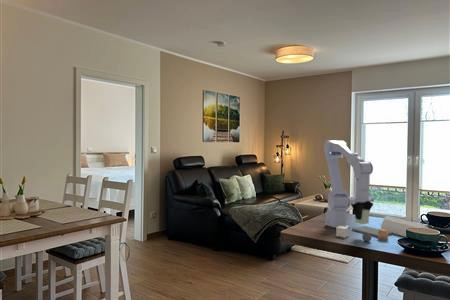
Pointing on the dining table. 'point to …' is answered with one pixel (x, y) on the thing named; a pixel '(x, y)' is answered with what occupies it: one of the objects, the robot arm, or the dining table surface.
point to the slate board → (368, 231)
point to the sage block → (363, 217)
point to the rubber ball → (366, 237)
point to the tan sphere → (382, 234)
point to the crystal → (399, 225)
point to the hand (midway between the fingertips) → (361, 218)
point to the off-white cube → (342, 231)
